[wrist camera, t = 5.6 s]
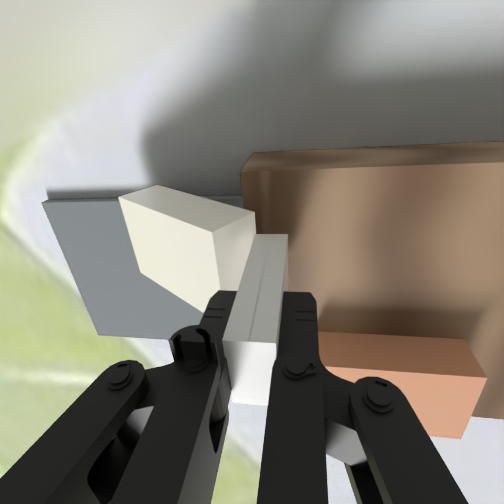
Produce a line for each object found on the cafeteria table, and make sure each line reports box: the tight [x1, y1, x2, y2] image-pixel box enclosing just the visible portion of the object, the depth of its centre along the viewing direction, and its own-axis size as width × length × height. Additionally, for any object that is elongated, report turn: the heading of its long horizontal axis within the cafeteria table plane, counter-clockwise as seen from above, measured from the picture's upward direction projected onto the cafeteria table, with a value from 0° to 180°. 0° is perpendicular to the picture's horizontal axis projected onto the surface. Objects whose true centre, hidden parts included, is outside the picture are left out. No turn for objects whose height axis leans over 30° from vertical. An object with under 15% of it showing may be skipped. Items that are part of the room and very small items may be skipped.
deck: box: [240, 141, 504, 419], centre depth 18 cm, size 16×16×4 cm
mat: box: [42, 195, 243, 340], centre depth 23 cm, size 14×12×1 cm
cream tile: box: [118, 185, 256, 313], centre depth 17 cm, size 8×5×2 cm
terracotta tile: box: [318, 331, 487, 439], centre depth 18 cm, size 8×5×2 cm, turn 95°
